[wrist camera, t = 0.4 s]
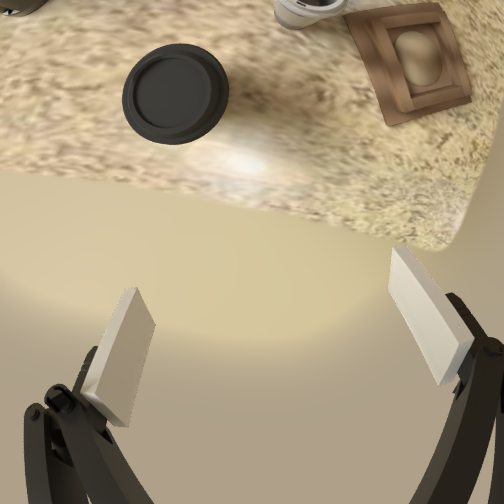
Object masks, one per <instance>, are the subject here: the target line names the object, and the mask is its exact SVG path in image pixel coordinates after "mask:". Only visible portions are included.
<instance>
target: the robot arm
mask: <svg viewBox="0 0 504 504" xmlns="http://www.w3.org/2000/svg"><path fill="white" fill-rule="evenodd" d="M46 1H47V0H0V13H1V14H2V15H5V16H11V17H21V16H25V15H27V14H29V13H31V12H33V11H35V10H36V9H38V8H39V7H40V6H42V5H43V4H44V3H45V2H46ZM388 290H389V292H390V294H391V296H392V298H393V299H394V301H395V303H396V305H397V306H398V308H399V310H400V312H401V314H402V316H403V317H404V319H405V321H406V323H407V324H408V327H409V329H410V330H411V332H412V334H413V336H414V338H415V340H416V342H417V344H418V346H419V348H420V350H421V352H422V354H423V356H424V358H425V360H426V362H427V364H428V366H429V368H430V370H431V372H432V374H433V377H434V379H435V381H436V383H437V385H438V386H441V385H444V384H446V383H449V382H451V381H453V379H454V378H455V376H456V374H457V373H458V375H459V377H460V381H459V382H458V384H457V386H456V387H455V389H454V391H453V393H455V392H456V393H455V397H454V400H453V403H452V406H451V409H450V412H449V415H448V418H447V421H446V424H445V427H444V429H443V432H442V434H441V437H440V440H439V442H438V445H437V447H436V450H435V452H434V454H433V457H432V459H431V461H430V463H429V466H428V468H427V470H426V472H425V474H424V476H423V478H422V480H421V483H420V484H419V486H418V489H417V490H416V492H415V494H414V496H413V498H412V499H411V501H410V503H409V504H467V503H468V501H469V499H470V496H471V494H472V491H473V489H474V486H475V484H476V481H477V478H478V476H479V473H480V470H481V467H482V464H483V461H484V458H485V455H486V452H487V448H488V445H489V441H490V437H491V433H492V430H493V426H494V421H495V417H496V436H495V454H494V465H493V474H492V481H491V488H490V494H489V500H488V504H504V344H502V343H501V342H500V341H499V340H498V339H496V338H493V337H488V336H487V335H486V333H485V332H484V330H483V329H482V328H481V326H480V325H479V323H478V322H477V320H476V319H475V317H474V316H473V315H472V314H471V312H470V311H469V309H468V308H466V305H465V304H464V302H463V301H462V300H461V298H459V297H458V296H456V295H455V294H454V293H448V294H444V293H443V292H442V290H441V289H440V288H439V286H438V285H437V284H436V282H435V281H434V280H433V279H432V277H431V276H430V274H429V273H428V272H427V271H426V269H425V268H424V267H423V265H422V264H421V263H420V262H419V260H418V259H417V258H416V257H415V256H414V254H413V253H412V252H411V251H410V249H409V248H408V247H407V246H406V245H401V246H395V247H393V248H392V259H391V269H390V278H389V286H388ZM154 329H155V323H154V321H153V319H152V317H151V315H150V313H149V311H148V309H147V307H146V305H145V303H144V301H143V299H142V297H141V294H140V292H139V290H138V288H137V287H135V288H128V289H125V290H124V292H123V294H122V296H121V298H120V300H119V302H118V304H117V306H116V309H115V311H114V313H113V315H112V317H111V319H110V321H109V324H108V326H107V328H106V330H105V332H104V335H103V337H102V339H101V342H100V344H99V346H94V347H93V348H92V349H91V350H90V351H89V353H88V354H87V356H86V358H85V360H84V364H83V365H82V368H81V371H80V372H79V375H78V377H77V380H76V382H75V385H74V387H73V390H72V392H71V391H70V390H69V389H68V388H67V387H66V386H65V385H63V384H56V385H54V386H52V387H51V388H50V389H49V390H48V391H47V393H46V395H45V398H44V402H45V404H47V406H49V408H47V409H45V408H44V407H43V406H42V405H41V404H39V403H33V404H32V405H30V406H29V407H28V408H27V410H26V412H25V416H24V461H25V476H26V486H27V494H28V502H29V504H89V502H88V498H87V495H88V497H89V499H90V501H91V503H92V504H154V503H153V501H152V500H151V499H150V497H149V496H148V494H147V493H146V491H145V490H144V488H143V487H142V485H141V484H140V482H139V481H138V479H137V478H136V476H135V474H134V473H133V471H132V470H131V468H130V466H129V465H128V463H127V461H126V459H125V458H124V456H123V454H122V453H121V451H120V449H119V447H118V445H117V444H116V442H115V440H114V438H113V436H112V434H111V432H110V430H109V429H108V428H107V426H106V423H107V420H108V421H109V422H110V423H111V424H112V425H114V426H118V427H128V426H129V422H130V418H131V413H132V409H133V405H134V401H135V397H136V393H137V389H138V385H139V381H140V378H141V374H142V371H143V367H144V363H145V360H146V356H147V352H148V349H149V346H150V342H151V339H152V336H153V332H154ZM86 493H87V494H86Z"/></svg>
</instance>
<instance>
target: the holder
mask: <svg viewBox="0 0 504 504" xmlns="http://www.w3.org/2000/svg"><path fill="white" fill-rule="evenodd" d="M343 17H344V19H345V21H346V23H347V25H348V27H349V29H350V32H351V34H352V36H353V38H354V40H355V43H356V45H357V47H358V49H359V52H360V54H361V57H362V59H363V61H364V64H365V66H366V69H367V71H368V74H369V77H370V79H371V82H372V85H373V87H374V90H375V93H376V96H377V99H378V102H379V104H380V107H381V111H382V114H383V117H384V120H385V123H386V125H387V126H392V125H395V124H398V123H401V122H404V121H408V120H411V119H414V118H417V117H421V116H424V115H427V114H431V113H434V112H437V111H441V110H444V109H448V108H452V107H455V106H459V105H463V104H466V103H470V102H472V101H471V97H470V95H472V93H471V89H470V85H469V81H468V77H467V74H466V70H465V67H464V63H463V60H462V57H461V54H460V51H459V48H458V45H457V42H456V39H455V36H454V34H453V31H452V28H451V26H450V23H449V21H448V18H447V16H446V14H445V11H442V9H441V7H440V5H439V3H420V4H408V5H398V6H390V7H383V8H376V9H370V10H364V11H359V12H354V13H349V14H345V15H343Z"/></svg>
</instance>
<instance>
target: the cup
mask: <svg viewBox="0 0 504 504" xmlns="http://www.w3.org/2000/svg"><path fill="white" fill-rule="evenodd" d="M347 3H348V0H274V9H275V12H274V14H275V18H276V20H277V21H278V22H279V24H281V25H282V26H283V27H285V28H288V29H292V30H299V29H302V28H305V27H306V26H309V25H312V24H314V23H315V22H317V21H319V20H321V19H325V18H330V17H333V16H336V15H338V14H339V13H341V12H342V11H343V10H344V9H345V7H346V5H347Z"/></svg>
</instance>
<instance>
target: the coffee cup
mask: <svg viewBox="0 0 504 504" xmlns="http://www.w3.org/2000/svg"><path fill="white" fill-rule="evenodd" d="M228 97H229V84H228V79H227V76H226V73H225V71H224V69H223V67H222V65H221V64H220V62H219V61H218V60H217V59H216V58H215V57H214V56H213V55H212V54H211V53H209V52H208V51H206V50H204V49H202V48H200V47H198V46H195V45H190V44H181V43H180V44H170V45H166V46H162V47H160V48H157V49H155V50H153V51H152V52H150V53H148V54H147V55H146V56H144V57H143V58H142V59H141V60H140V61H139V62H138V63H137V64H136V65H135V66H134V67H133V69H132V70H131V72H130V73H129V75H128V77H127V79H126V82H125V85H124V88H123V94H122V105H123V111H124V114H125V117H126V119H127V121H128V123H129V124H130V126H131V127H132V128H133V129H134V130H135V131H136V132H137V133H138V134H139V135H140V136H142V137H143V138H145V139H147V140H150V141H152V142H156V143H161V144H168V145H179V144H185V143H189V142H192V141H194V140H197V139H199V138H201V137H202V136H204V135H205V134H207V133H208V132H209V131H210V130H211V129H213V128H214V126H215V125H216V124H217V123H218V122H219V120H220V119H221V117H222V115H223V113H224V111H225V109H226V106H227V103H228Z"/></svg>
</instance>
